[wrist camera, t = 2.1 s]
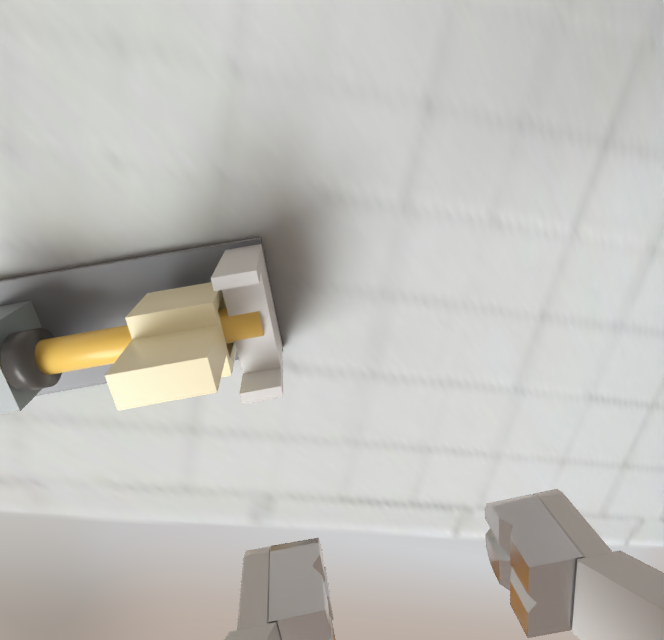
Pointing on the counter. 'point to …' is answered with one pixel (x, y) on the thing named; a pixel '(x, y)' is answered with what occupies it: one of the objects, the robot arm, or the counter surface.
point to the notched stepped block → (172, 348)
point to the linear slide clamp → (110, 324)
